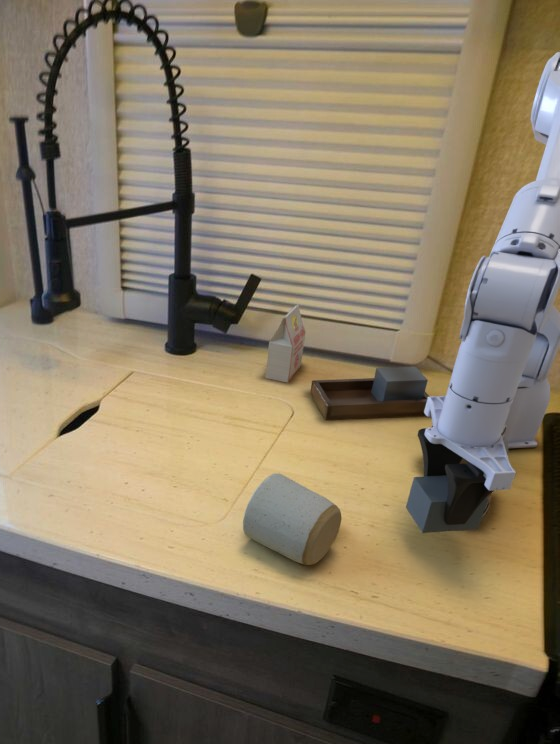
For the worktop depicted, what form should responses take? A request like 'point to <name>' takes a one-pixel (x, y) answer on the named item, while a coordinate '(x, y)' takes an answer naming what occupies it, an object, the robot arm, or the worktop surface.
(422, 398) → the brown wooden tray
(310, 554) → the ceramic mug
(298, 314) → the milk carton
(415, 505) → the blue gray block
